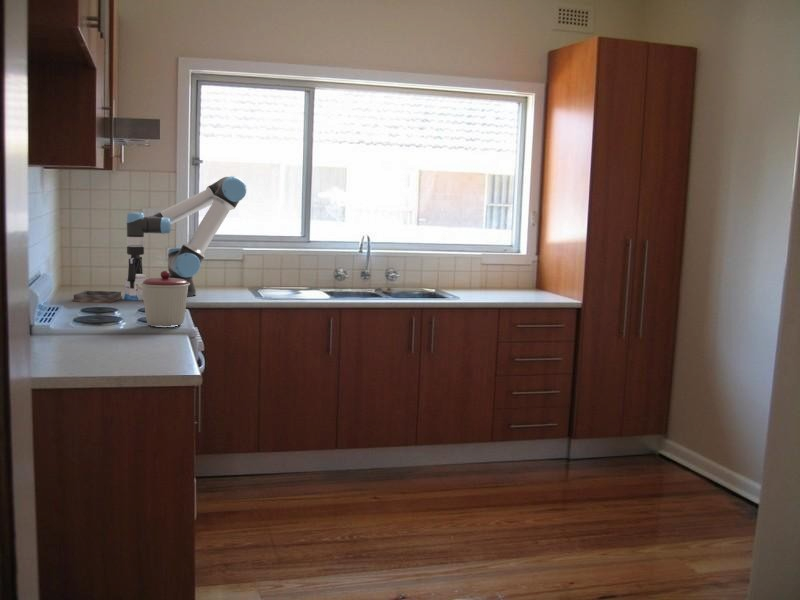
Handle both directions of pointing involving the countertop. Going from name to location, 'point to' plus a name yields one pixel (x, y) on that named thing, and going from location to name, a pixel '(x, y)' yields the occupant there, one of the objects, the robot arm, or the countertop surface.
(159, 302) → the canister
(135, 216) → the robot arm
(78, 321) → the countertop surface
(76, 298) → the brown shallow square tray
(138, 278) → the ink box
